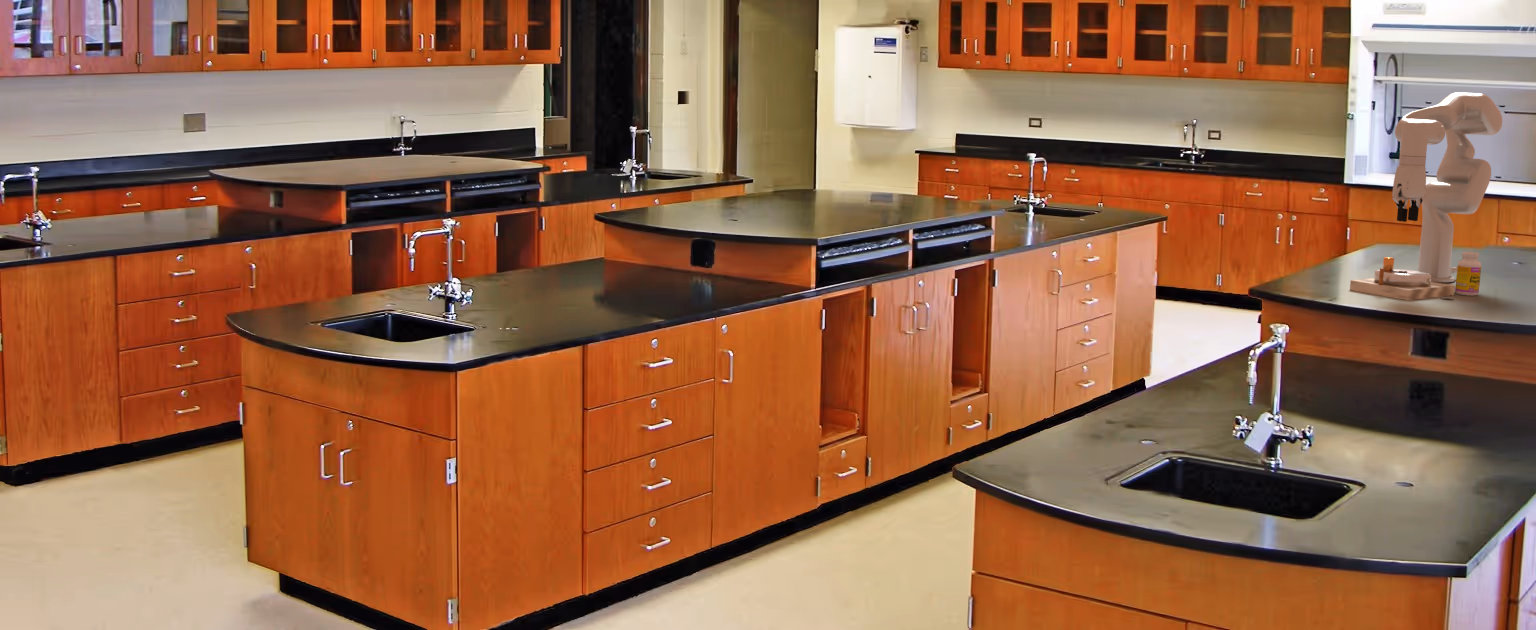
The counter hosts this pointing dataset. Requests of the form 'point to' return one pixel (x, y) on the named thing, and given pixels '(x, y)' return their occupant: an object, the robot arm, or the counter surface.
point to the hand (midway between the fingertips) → (1407, 220)
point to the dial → (1402, 276)
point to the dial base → (1401, 289)
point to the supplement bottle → (1468, 274)
